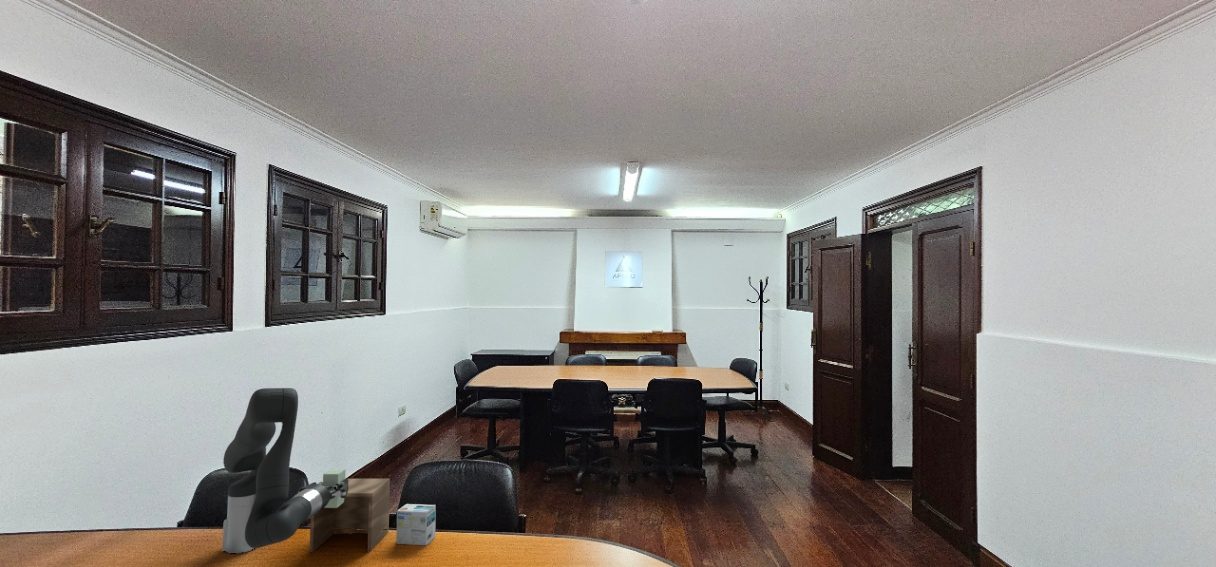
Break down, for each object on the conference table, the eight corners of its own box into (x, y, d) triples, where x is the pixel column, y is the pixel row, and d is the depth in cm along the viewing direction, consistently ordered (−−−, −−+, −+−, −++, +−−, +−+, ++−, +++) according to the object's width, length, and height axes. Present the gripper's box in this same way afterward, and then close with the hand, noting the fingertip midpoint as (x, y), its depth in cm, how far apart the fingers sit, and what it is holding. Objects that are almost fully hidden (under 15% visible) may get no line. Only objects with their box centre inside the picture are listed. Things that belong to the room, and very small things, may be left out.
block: (321, 507, 153) (323, 473, 154) (329, 501, 158) (330, 469, 158) (336, 507, 153) (338, 474, 154) (344, 502, 158) (345, 469, 158)
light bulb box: (435, 537, 171) (436, 504, 172) (426, 546, 164) (427, 512, 165) (405, 535, 172) (406, 502, 173) (395, 544, 166) (396, 510, 166)
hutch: (309, 551, 160) (311, 493, 161) (331, 532, 174) (333, 478, 175) (370, 551, 160) (372, 493, 161) (388, 532, 174) (389, 478, 175)
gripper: (334, 489, 142) (362, 469, 159) (282, 488, 142) (315, 468, 159) (333, 516, 142) (361, 494, 159) (281, 516, 141) (314, 493, 158)
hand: (338, 481), depth 159 cm, fingers closed on block, 4 cm apart
